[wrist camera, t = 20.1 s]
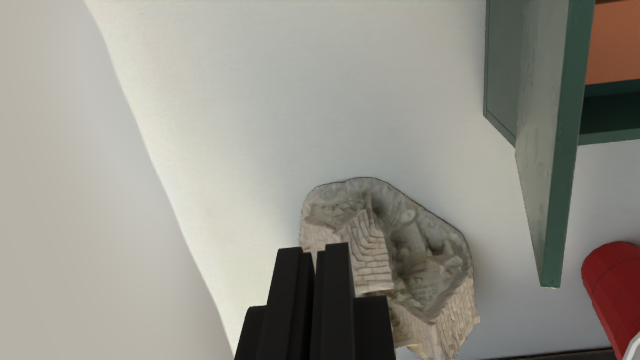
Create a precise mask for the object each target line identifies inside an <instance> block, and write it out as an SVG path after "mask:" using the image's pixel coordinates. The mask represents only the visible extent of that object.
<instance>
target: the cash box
mask: <svg viewBox="0 0 640 360" xmlns="http://www.w3.org/2000/svg"><path fill="white" fill-rule="evenodd" d="M512 360H617V358H616V356H615V351H614V349H607V350H598V351H588V352H579V353H569V354H560V355H550V356H541V357H531V358H522V359H512Z"/></svg>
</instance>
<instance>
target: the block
mask: <svg viewBox="0 0 640 360" xmlns="http://www.w3.org/2000/svg"><path fill="white" fill-rule="evenodd" d="M632 79H640V0H595V9H594V17H593V25H592V33H591V41H590V49H589V57H588V65H587V73H586V81H585V85H590V84H598V83H607V82H615V81H624V80H632Z"/></svg>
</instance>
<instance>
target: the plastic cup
mask: <svg viewBox="0 0 640 360" xmlns="http://www.w3.org/2000/svg"><path fill="white" fill-rule="evenodd" d="M581 274H582V279H583V284H584V286H585V288H586V290H587V292H588V294H589V296H590V298H591V300H592V305H593V307H594V309H595V311H596V314H597V316H598V318H599V320H600V322H601V324H602V326H603V328H604V330H605V332H606V334H607V336H608V339H609V341H610V343H611V345H612V347H613V349H614V351H615V356H616V358H617V360H640V247H638V246H636V245H633V244H631V243H626V242H614V243H610V244H605V245H603V246H601V247H600V248H598V249H596V250H594V251H593V252H592V253H591V254H590V255H589V256H588V257H587V258H586V259H585V261H584V263H583V266H582V268H581Z"/></svg>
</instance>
